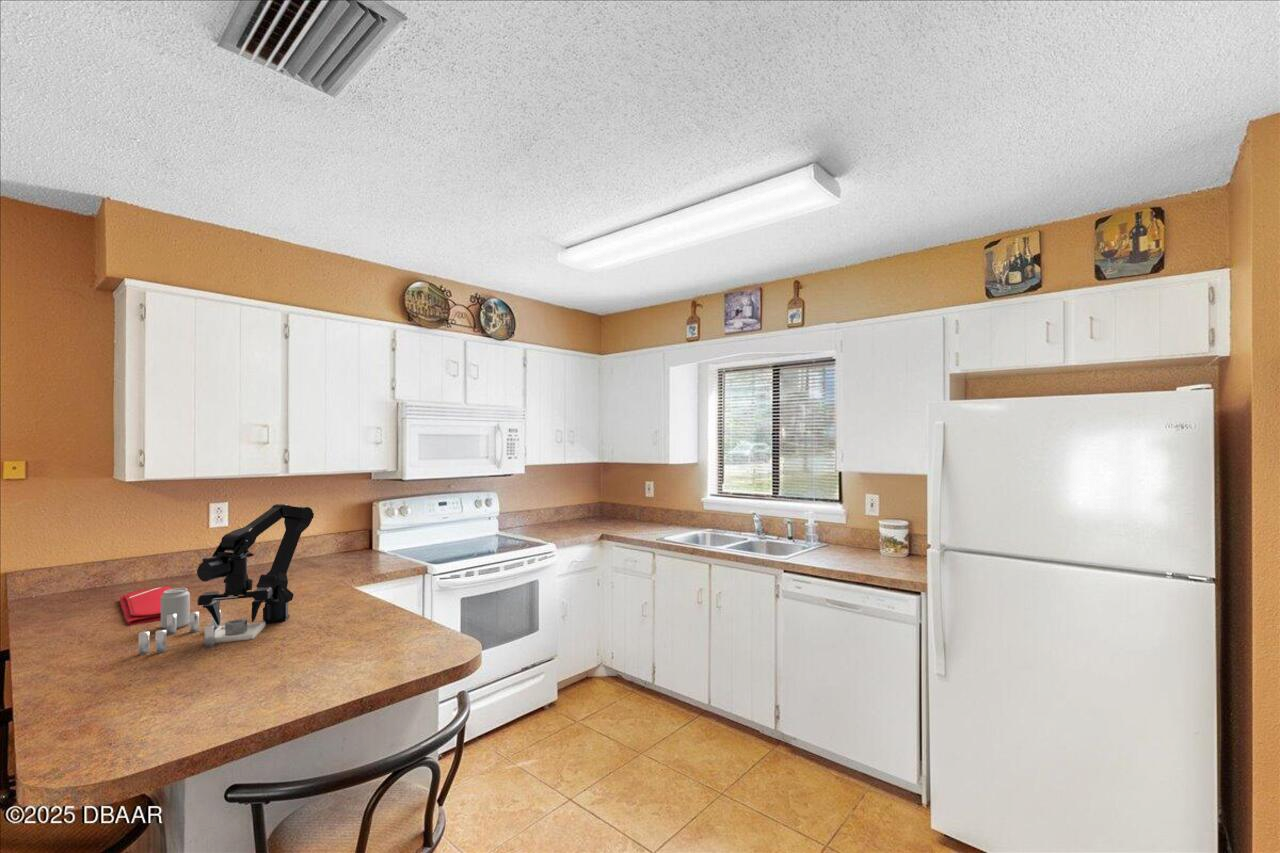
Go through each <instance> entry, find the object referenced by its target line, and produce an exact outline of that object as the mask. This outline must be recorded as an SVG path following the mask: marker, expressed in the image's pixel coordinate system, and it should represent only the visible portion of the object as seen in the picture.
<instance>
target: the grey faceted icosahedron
mask: <svg viewBox="0 0 1280 853" xmlns="http://www.w3.org/2000/svg"><path fill="white" fill-rule="evenodd" d="M247 623H248V619H245V618H244V619H243V618H238V619H233V620H228V621H227V622H226V623H225V624H224V626H225V635H227V636H233V635H239V634H244V633H245V632H246V631H247Z"/></svg>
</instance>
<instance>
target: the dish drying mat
mask: <svg viewBox="0 0 1280 853" xmlns="http://www.w3.org/2000/svg"><path fill="white" fill-rule="evenodd" d="M170 589H172V588H171V587H170V586H159V587H153V588H152V587H151V588H145V589H139V590H134V591H130V592H128V593H126V594H123V595H121V596H120V599H119V600H120V601H119V603H120V604H119V605H120V607H121V610H122V614H123V617H124V620H125V622H126V623H127V625H128V626H129V627H130V626H134V625H139V624H146V623H150V622H155V621H161V596H162V595H163V594H164V593H163V592H164V591H167V590H170Z"/></svg>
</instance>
